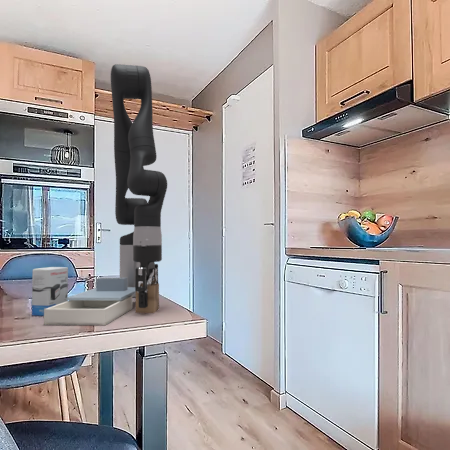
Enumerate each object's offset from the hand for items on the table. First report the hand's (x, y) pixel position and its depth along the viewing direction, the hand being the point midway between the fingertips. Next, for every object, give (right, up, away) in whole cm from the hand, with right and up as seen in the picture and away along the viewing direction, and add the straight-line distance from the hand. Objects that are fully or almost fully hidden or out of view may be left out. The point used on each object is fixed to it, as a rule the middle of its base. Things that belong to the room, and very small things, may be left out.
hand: (147, 304), depth 99 cm
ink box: (-25, -2, -2) cm, 25 cm away
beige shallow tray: (-12, -2, -6) cm, 14 cm away
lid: (-12, +2, +4) cm, 13 cm away
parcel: (0, -2, 0) cm, 2 cm away
